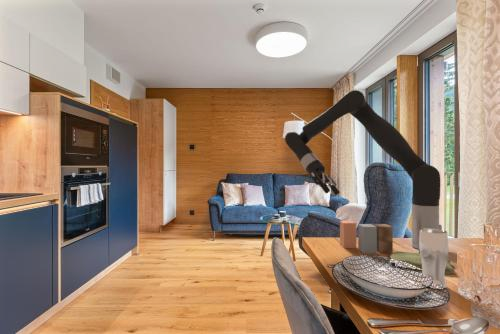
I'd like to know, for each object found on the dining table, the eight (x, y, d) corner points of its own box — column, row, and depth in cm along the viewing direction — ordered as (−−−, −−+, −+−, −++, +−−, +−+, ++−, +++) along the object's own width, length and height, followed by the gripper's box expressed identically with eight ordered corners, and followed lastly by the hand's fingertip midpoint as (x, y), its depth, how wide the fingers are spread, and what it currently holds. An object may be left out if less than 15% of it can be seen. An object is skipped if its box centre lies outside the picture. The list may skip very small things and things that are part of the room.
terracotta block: (351, 244, 117) (351, 220, 117) (356, 247, 112) (356, 223, 112) (340, 244, 117) (339, 220, 117) (344, 248, 112) (343, 223, 112)
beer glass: (439, 280, 80) (439, 228, 80) (454, 291, 73) (454, 233, 73) (413, 279, 81) (413, 227, 81) (426, 290, 74) (426, 233, 74)
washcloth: (390, 256, 103) (390, 247, 103) (449, 264, 94) (449, 254, 94) (388, 267, 91) (388, 257, 91) (455, 278, 83) (455, 267, 83)
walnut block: (386, 249, 110) (386, 223, 110) (392, 253, 105) (392, 226, 105) (373, 249, 110) (373, 224, 110) (379, 253, 105) (379, 226, 105)
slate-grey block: (371, 249, 110) (370, 224, 110) (376, 253, 105) (376, 226, 105) (358, 249, 110) (358, 224, 110) (363, 253, 105) (363, 226, 105)
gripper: (310, 156, 119) (331, 185, 110) (326, 162, 129) (347, 189, 121) (298, 168, 123) (318, 197, 114) (314, 172, 133) (334, 199, 124)
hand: (333, 193), depth 117 cm, fingers open, 8 cm apart
